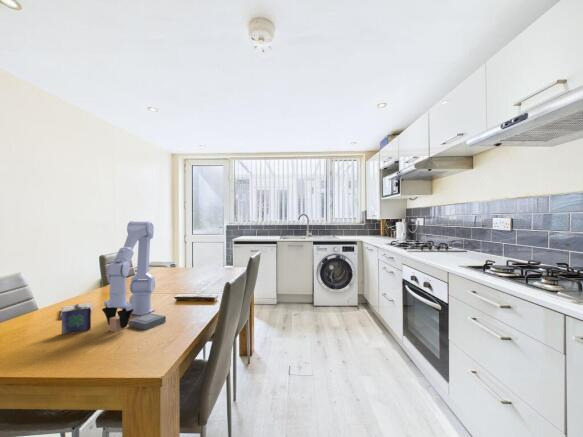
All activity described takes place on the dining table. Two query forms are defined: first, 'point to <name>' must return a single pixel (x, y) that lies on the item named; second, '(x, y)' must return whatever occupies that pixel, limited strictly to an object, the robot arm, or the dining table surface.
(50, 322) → the dining table surface
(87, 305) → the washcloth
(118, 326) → the terracotta block
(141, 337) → the dining table surface
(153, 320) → the slate plinth
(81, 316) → the flask
